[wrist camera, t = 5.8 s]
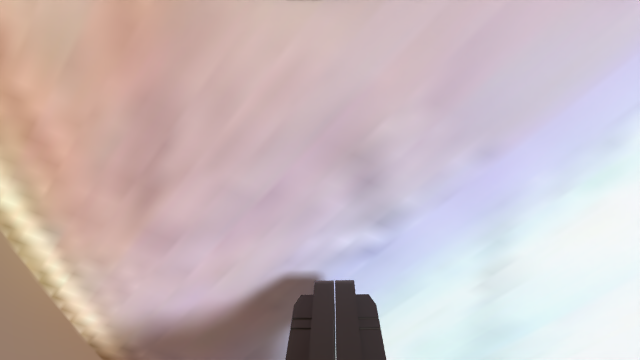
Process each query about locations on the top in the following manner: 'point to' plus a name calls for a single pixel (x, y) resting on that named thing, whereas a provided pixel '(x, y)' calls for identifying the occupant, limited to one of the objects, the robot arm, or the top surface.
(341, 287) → the robot arm
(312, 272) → the top surface
